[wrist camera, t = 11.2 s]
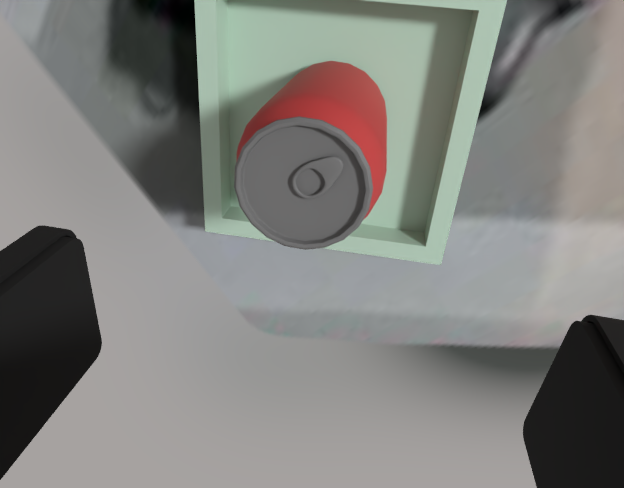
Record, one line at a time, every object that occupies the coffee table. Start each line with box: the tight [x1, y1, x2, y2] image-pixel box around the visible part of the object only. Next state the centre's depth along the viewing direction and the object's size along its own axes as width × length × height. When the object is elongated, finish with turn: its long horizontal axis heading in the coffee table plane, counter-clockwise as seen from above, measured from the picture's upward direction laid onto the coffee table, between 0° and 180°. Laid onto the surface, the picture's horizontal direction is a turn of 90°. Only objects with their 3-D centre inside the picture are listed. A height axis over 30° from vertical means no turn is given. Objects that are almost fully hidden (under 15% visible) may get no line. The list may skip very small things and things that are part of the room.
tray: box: [194, 0, 507, 265], centre depth 28 cm, size 16×16×3 cm
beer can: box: [234, 61, 387, 250], centre depth 23 cm, size 7×7×12 cm
